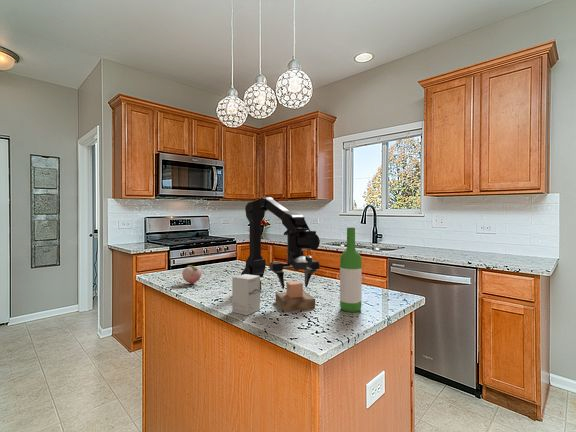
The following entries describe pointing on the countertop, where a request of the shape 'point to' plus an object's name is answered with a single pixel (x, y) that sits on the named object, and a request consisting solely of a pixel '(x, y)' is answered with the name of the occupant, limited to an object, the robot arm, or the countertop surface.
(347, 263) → the wine bottle
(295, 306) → the walnut block
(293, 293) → the terracotta cube
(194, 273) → the decorative fruit
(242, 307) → the supplement box
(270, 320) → the countertop surface
